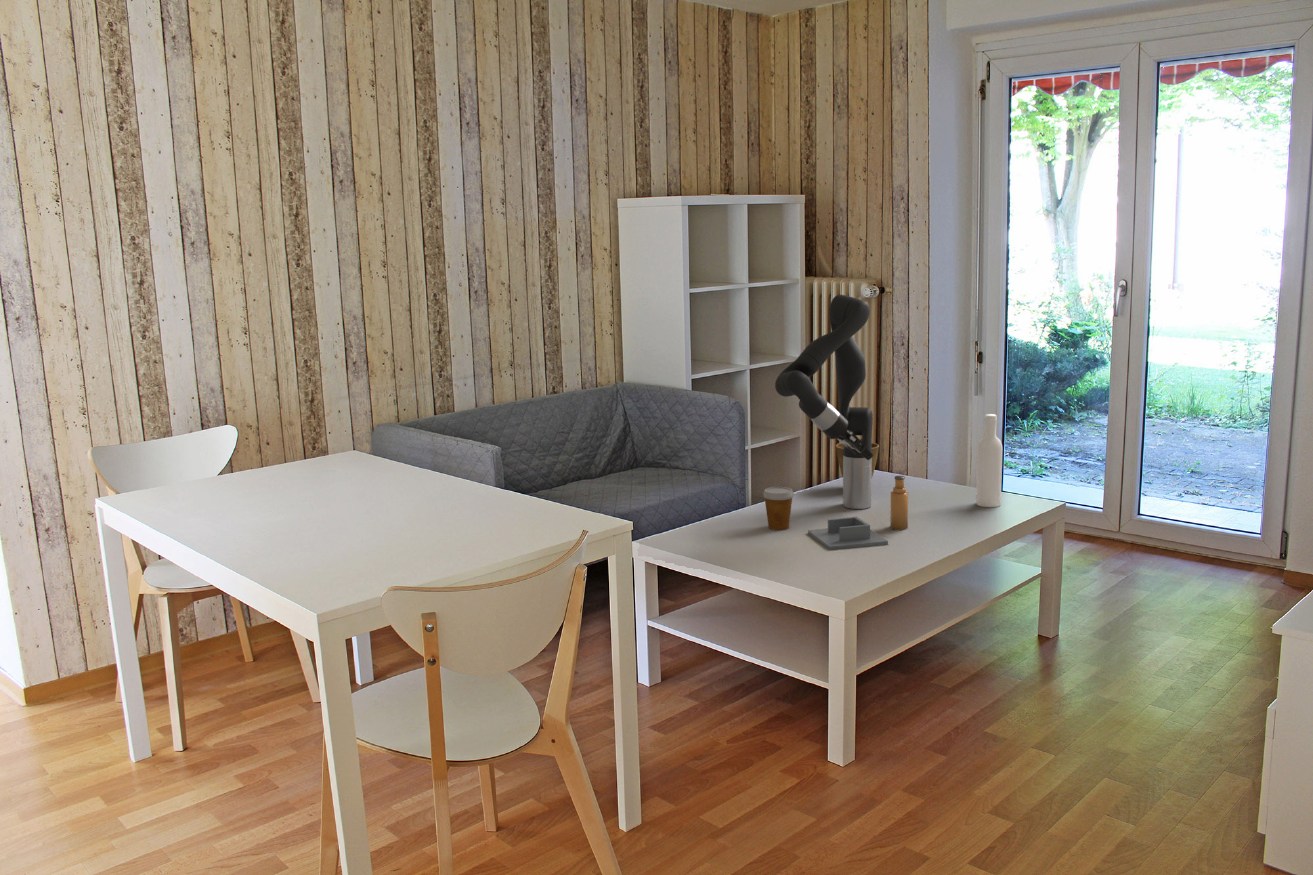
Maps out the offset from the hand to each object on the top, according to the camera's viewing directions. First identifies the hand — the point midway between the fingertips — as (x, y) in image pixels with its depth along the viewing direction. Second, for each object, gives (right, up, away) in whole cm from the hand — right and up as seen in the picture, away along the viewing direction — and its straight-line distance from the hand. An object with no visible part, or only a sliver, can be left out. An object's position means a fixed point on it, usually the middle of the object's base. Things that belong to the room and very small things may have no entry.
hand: (864, 455), depth 307 cm
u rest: (-6, -25, -3) cm, 26 cm away
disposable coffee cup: (-25, -23, +11) cm, 35 cm away
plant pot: (+9, -13, +56) cm, 58 cm away
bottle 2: (+47, -17, +30) cm, 58 cm away
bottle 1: (+12, -22, +7) cm, 26 cm away
